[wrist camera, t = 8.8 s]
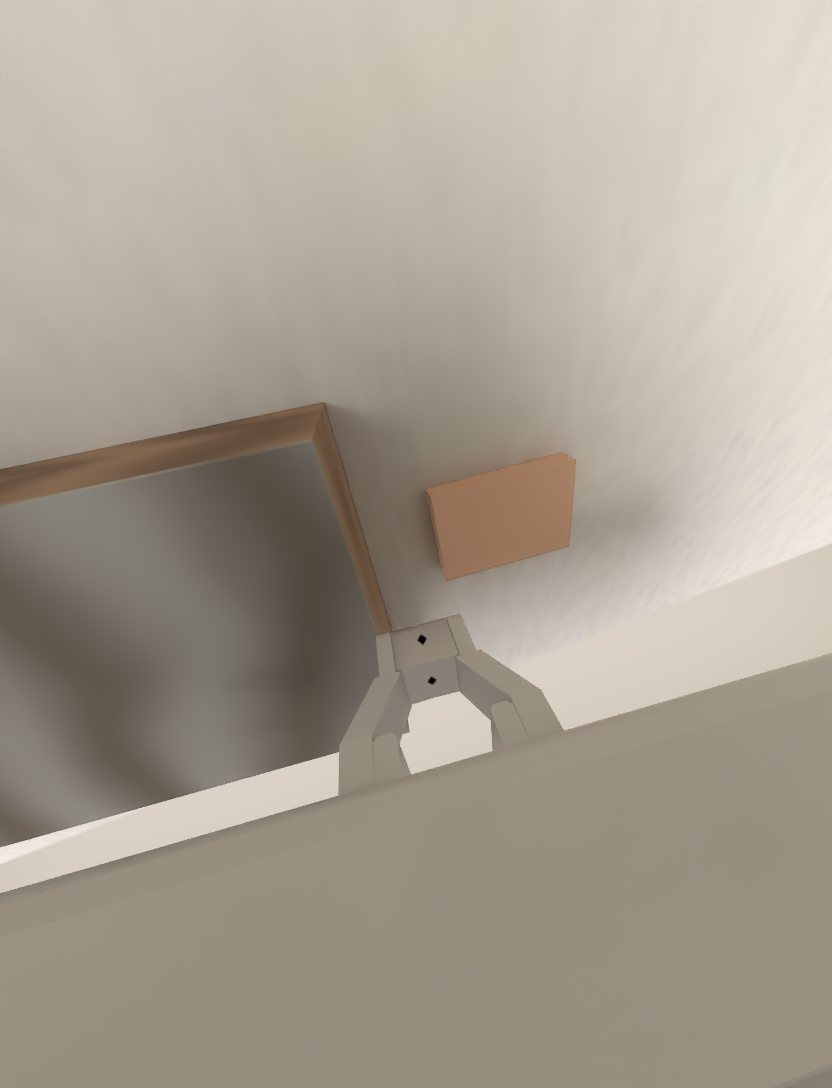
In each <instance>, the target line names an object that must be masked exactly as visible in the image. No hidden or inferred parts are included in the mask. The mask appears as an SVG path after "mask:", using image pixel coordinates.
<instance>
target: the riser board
mask: <svg viewBox="0 0 832 1088" xmlns="http://www.w3.org/2000/svg"><path fill="white" fill-rule="evenodd" d="M389 632H392V630H391V626H390V623H389V620H388V616H387V613H386V609H385V606H384V603H383V599H382V596H381V593H380V589H379V586H378V583H377V579H376V576H375V572H374V569H373V566H372V562H371V559H370V556H369V552H368V549H367V546H366V542H365V539H364V536H363V532H362V529H361V525H360V522H359V519H358V515H357V512H356V509H355V505H354V502H353V499H352V495H351V492H350V488H349V485H348V482H347V478H346V475H345V472H344V468H343V465H342V462H341V458H340V455H339V451H338V448H337V445H336V441H335V438H334V435H333V431H332V428H331V425H330V421H329V418H328V415H327V411H326V408H325V404H324V403H319V404H314V405H309V406H304V407H299V408H295V409H290V410H285V411H280V412H275V413H270V414H266V415H261V416H256V417H251V418H246V419H242V420H237V421H232V422H227V423H222V424H217V425H213V426H208V427H203V428H198V429H193V430H189V431H184V432H179V433H174V434H169V435H164V436H160V437H155V438H150V439H145V440H140V441H135V442H131V443H126V444H121V445H116V446H111V447H107V448H102V449H97V450H92V451H87V452H82V453H78V454H73V455H68V456H63V457H58V458H54V459H49V460H44V461H39V462H34V463H29V464H25V465H20V466H15V467H10V468H5V469H0V847H3V846H7V845H10V844H14V843H17V842H21V841H24V840H28V839H32V838H35V837H39V836H42V835H46V834H49V833H53V832H56V831H60V830H63V829H67V828H71V827H74V826H78V825H81V824H85V823H88V822H92V821H95V820H99V819H103V818H106V817H110V816H113V815H117V814H120V813H124V812H127V811H131V810H134V809H138V808H142V807H145V806H149V805H152V804H156V803H159V802H163V801H166V800H170V799H174V798H177V797H181V796H184V795H188V794H191V793H195V792H198V791H201V790H205V789H209V788H213V787H216V786H220V785H223V784H227V783H230V782H234V781H237V780H241V779H245V778H248V777H251V776H255V775H259V774H262V773H266V772H269V771H273V770H276V769H280V768H284V767H287V766H291V765H294V764H298V763H301V762H305V761H308V760H312V759H316V758H319V757H323V756H326V755H330V754H333V753H337V752H339V745H340V743H341V741H342V740H343V738H344V736H345V734H346V732H347V730H348V728H349V726H350V724H351V722H352V721H353V719H354V717H355V715H356V713H357V711H358V709H359V707H360V705H361V703H362V702H363V700H364V698H365V696H366V694H367V692H368V690H369V688H370V686H371V684H372V683H373V681H374V679H375V678H376V677H379V669H378V660H377V650H376V640H375V639H376V635H380V634H384V633H389ZM408 732H409V725H408V719H407V722H406V725H405V728H404V731H403V734H404V733H408Z"/></svg>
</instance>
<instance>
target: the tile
mask: <svg viewBox="0 0 832 1088" xmlns="http://www.w3.org/2000/svg"><path fill="white" fill-rule="evenodd" d="M575 463H576V459H574V458H572V457H570V456H568V455H566V454H564V453H559V454H555V455H551V456H547V457H544V458H540V459H536V460H532V461H528V462H525V463H521V464H517V465H513V466H509V467H506V468H502V469H498V470H494V471H491V472H487V473H483V474H479V475H475V476H472V477H468V478H464V479H460V480H456V481H453V482H449V483H445V484H441V485H437V486H434V487H430V488H426V493H427V498H428V503H429V508H430V513H431V518H432V523H433V528H434V534H435V539H436V544H437V549H438V554H439V559H440V564H441V569H442V571H443V574H444V576H445V578H446V580H447V581H448V580H451V579H455V578H458V577H462V576H465V575H469V574H472V573H476V572H479V571H483V570H487V569H490V568H494V567H497V566H501V565H504V564H508V563H511V562H515V561H519V560H522V559H526V558H529V557H533V556H536V555H540V554H543V553H547V552H550V551H554V550H558V549H561V548H565V547H568V546H569V537H570V525H571V512H572V500H573V488H574V476H575Z"/></svg>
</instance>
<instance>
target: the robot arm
mask: <svg viewBox="0 0 832 1088" xmlns="http://www.w3.org/2000/svg"><path fill="white" fill-rule="evenodd" d="M375 640H376V650H377V660H378V669H379V677H376V678H375V679H374V681H373V683H372V684H371V686H370V688H369V690H368V692H367V694H366V696H365V698H364V700H363V702H362V703H361V705H360V707H359V709H358V711H357V713H356V715H355V717H354V719H353V721H352V722H351V724H350V726H349V728H348V730H347V732H346V734H345V736H344V738H343V740H342V741H341V743H340V745H339V796H336V797H333V798H329V799H326V800H322V801H319V802H315V803H312V804H309V805H305V806H302V807H298V808H295V809H292V810H288V811H284V812H281V813H277V814H274V815H271V816H267V817H264V818H260V819H257V820H253V821H250V822H246V823H243V824H240V825H236V826H233V827H229V828H226V829H223V830H219V831H215V832H212V833H208V834H205V835H201V836H198V837H195V838H191V839H188V840H184V841H181V842H177V843H174V844H170V845H167V846H164V847H160V848H157V849H154V850H150V851H146V852H143V853H140V854H136V855H133V856H129V857H126V858H122V859H119V860H115V861H112V862H108V863H105V864H101V865H98V866H94V867H91V868H87V869H84V870H80V871H77V872H73V873H70V874H66V875H63V876H60V877H56V878H53V879H49V880H46V881H43V882H39V883H35V884H32V885H28V886H25V887H22V888H18V889H14V890H11V891H7V892H4V893H0V1088H832V653H830V654H826V655H823V656H820V657H816V658H813V659H809V660H806V661H802V662H799V663H795V664H792V665H789V666H785V667H782V668H778V669H775V670H771V671H768V672H764V673H761V674H758V675H754V676H751V677H747V678H744V679H740V680H737V681H734V682H730V683H726V684H723V685H719V686H716V687H713V688H710V689H706V690H702V691H699V692H695V693H692V694H689V695H685V696H682V697H678V698H675V699H671V700H668V701H665V702H661V703H657V704H654V705H651V706H647V707H644V708H640V709H637V710H633V711H630V712H626V713H623V714H619V715H617V716H613V717H609V718H606V719H602V720H599V721H595V722H592V723H588V724H585V725H582V726H578V727H575V728H571V729H568V730H563V728H562V726H561V725H560V723H559V721H558V719H557V718H556V716H555V714H554V712H553V710H552V709H551V707H550V705H549V703H548V701H547V700H546V698H545V696H544V694H543V693H542V691H541V689H539V688H537V687H536V686H534V685H533V684H531V683H530V682H528V681H527V680H525V679H524V678H522V677H521V676H519V675H518V674H516V673H515V672H513V671H512V670H510V669H509V668H507V667H506V666H504V665H503V664H501V663H500V662H498V661H497V660H495V659H494V658H492V657H491V656H489V655H488V654H486V653H485V652H483V651H482V650H477V651H476V649H475V647H474V645H473V642H472V640H471V638H470V635H469V633H468V631H467V628H466V626H465V623H464V621H463V619H462V616H461V615H460V614H458V615H454V616H450V617H447V618H442V619H439V620H435V621H431V622H428V623H424V624H420V625H418V626H413V627H409V628H405V629H401V630H396V631H392V632H389V633H384V634H380V635H376V639H375ZM458 691H460V692H461V693H462V694H463V695H464V696H465V697H466V698H467V699H469V701H471V702H472V703H473V704H474V705H475V706H476V707H477V708H478V709H479V710H480V711H481V712H482V713H483V714H484V715H486V716H487V717H488V718H489V719H490V720H491V731H492V747H493V751H492V752H488V753H485V754H481V755H478V756H474V757H471V758H467V759H464V760H460V761H457V762H453V763H450V764H447V765H443V766H440V767H436V768H433V769H429V770H426V771H422V772H419V773H415V774H413V775H411V773H410V770H409V768H408V765H407V762H406V760H405V757H404V755H403V752H402V749H401V747H400V744H399V743H400V740H401V737H402V734H403V731H404V728H405V725H406V722H407V719H408V716H409V712H410V709H411V707H412V705H411V704H414V703H418V702H421V701H424V700H427V699H431V698H434V697H438V696H442V695H445V694H450V693H454V692H458Z"/></svg>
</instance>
